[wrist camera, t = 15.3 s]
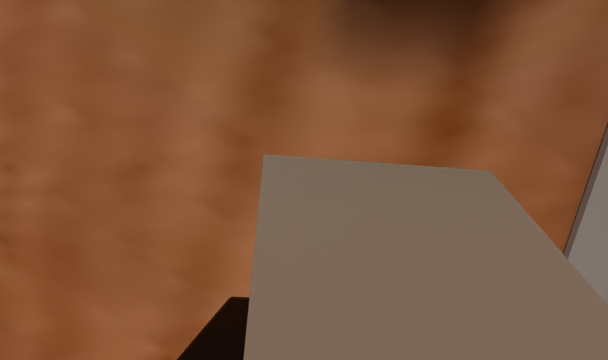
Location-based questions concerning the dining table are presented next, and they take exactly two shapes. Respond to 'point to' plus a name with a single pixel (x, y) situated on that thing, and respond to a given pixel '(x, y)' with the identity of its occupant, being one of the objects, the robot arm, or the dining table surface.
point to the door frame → (593, 228)
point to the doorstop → (409, 269)
